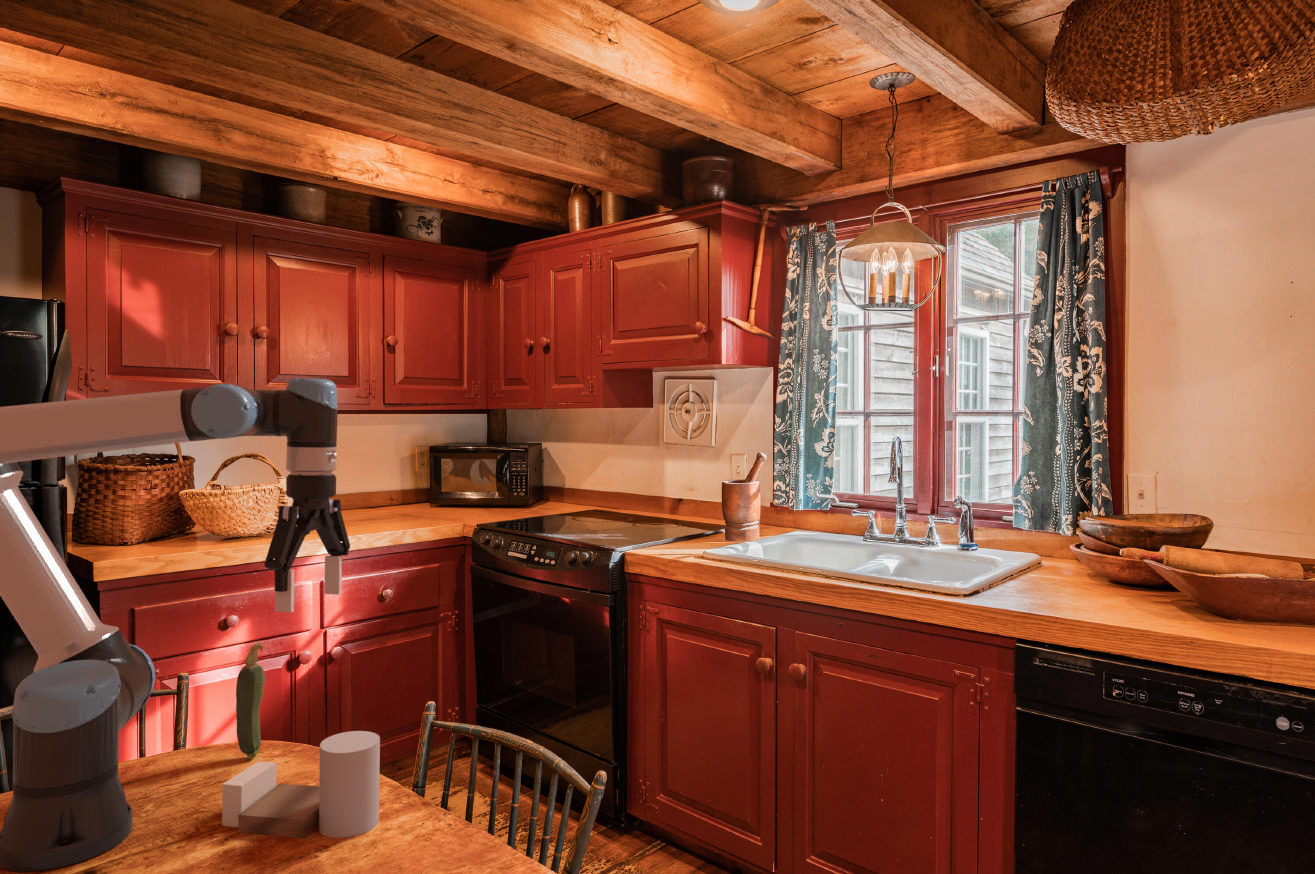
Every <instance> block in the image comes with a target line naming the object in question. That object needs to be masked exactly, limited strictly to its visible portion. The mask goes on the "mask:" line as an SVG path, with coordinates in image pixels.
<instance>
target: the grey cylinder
mask: <svg viewBox="0 0 1315 874" xmlns="http://www.w3.org/2000/svg"><path fill="white" fill-rule="evenodd" d="M380 752H381V737H380V735H379V734H378V733H376V732H373V731H367V730H366V731H365V730H352V731H345V732H340V733H337V734H333V735H331V736H328V737H326V738H324V739H323V740H322V741H321V742H320V744H319V786H320V788H319V826H318V831H319V832H320V834H321V835H323V836H325V837H329V838H332V839H346V838H353V837H356V836H360V835H362V834H363V835H364V834H365V833H368V832H370V831H371V830H373V829H374V828H375V827H377V826H378V823H379V821H380V764H381V762H380V758H381V755H380V754H381V753H380Z"/></svg>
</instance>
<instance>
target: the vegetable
mask: <svg viewBox="0 0 1315 874" xmlns="http://www.w3.org/2000/svg"><path fill="white" fill-rule="evenodd" d="M263 649H264V646H263V644H262V643H261V642H260V641H258V642H257V643H254V644H253V645H252V646H251V647H250V648H249V652H248V653H247V656H246V657H245V659H244V664H245V666H243V667H242V668H241V669H240V671H239V673H238V675H237V678H236V689H235V698H236V704H235V709H236V710H235V711H236V714H235V715H236V739H237V742H238V745H239V746H238V747H239V749H240V751H241V752H242V753H243V754H245V755H246V756H247V758H248V759H250V760H252V761H253V759H254V758H255V757H257V754H259V753H260V747H261V743H262V740H261V739H262V738H261V724H260V723H261V722H260V707H261V702H262V700H263V696H264V695H263V694H264V690H265V689H264V688H265V681H266V675H265V671H264V668H263V667H262V666H261V665H260V664H258V662H259V660H258V658H259V657H258V656H259V654H258V652H259V651H263ZM258 650H259V651H258Z"/></svg>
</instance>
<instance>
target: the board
mask: <svg viewBox="0 0 1315 874" xmlns="http://www.w3.org/2000/svg"><path fill="white" fill-rule="evenodd" d="M319 788H320V785H319V786H318V785H317V786H316V785H307V784H306V785H305V784H292V783H278V784H276V787H275V788H273V789H272V790H271V791H269V792H268V793H267V794H266V795H264V796H263V797H262V798H260V799H259V800H258V801H256V802H255V803H254V804H252V805H251V806H250V807H248V808H247V809H246V810H244V811H243V812H242V813H240V814H239V815H238V827H237V828H238V834H239V833H240V834H249V835H251V834H252V835H264V836H275V837H286V838H296V839H298V838H299V839H306V837H308V836H309V835H310V834H311V833H312V832H313V831H314V830H316V829H317V828H319Z"/></svg>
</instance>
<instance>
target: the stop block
mask: <svg viewBox="0 0 1315 874" xmlns="http://www.w3.org/2000/svg"><path fill="white" fill-rule="evenodd" d="M276 786H277V762H270V761H269V762H268V761H257V762H255V763H253V764H252V765H251V766H249V767H248V768H246V769H244V770H243V771H241V772H240V773H238V774H237V775H234V776H233V777H231V778H229V779H228V780H227V781H225V782H223V783H222V794H221V795H222V799H221V800H222V801H221V802H222V803H221V804H222V809H221V814H222V815H221V826H223V827H232V828H238V815H239V814H240V813H242V812H243V811H244V810H246V809H247V808H248V807H250V806H251V805H252V804H254V803H255V802H256V801H258V800H259V799H260V798H262V797H263V796H264V795H266V794H267V793H268V792H269V791H271V790H272V789H273V788H275V787H276Z"/></svg>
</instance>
